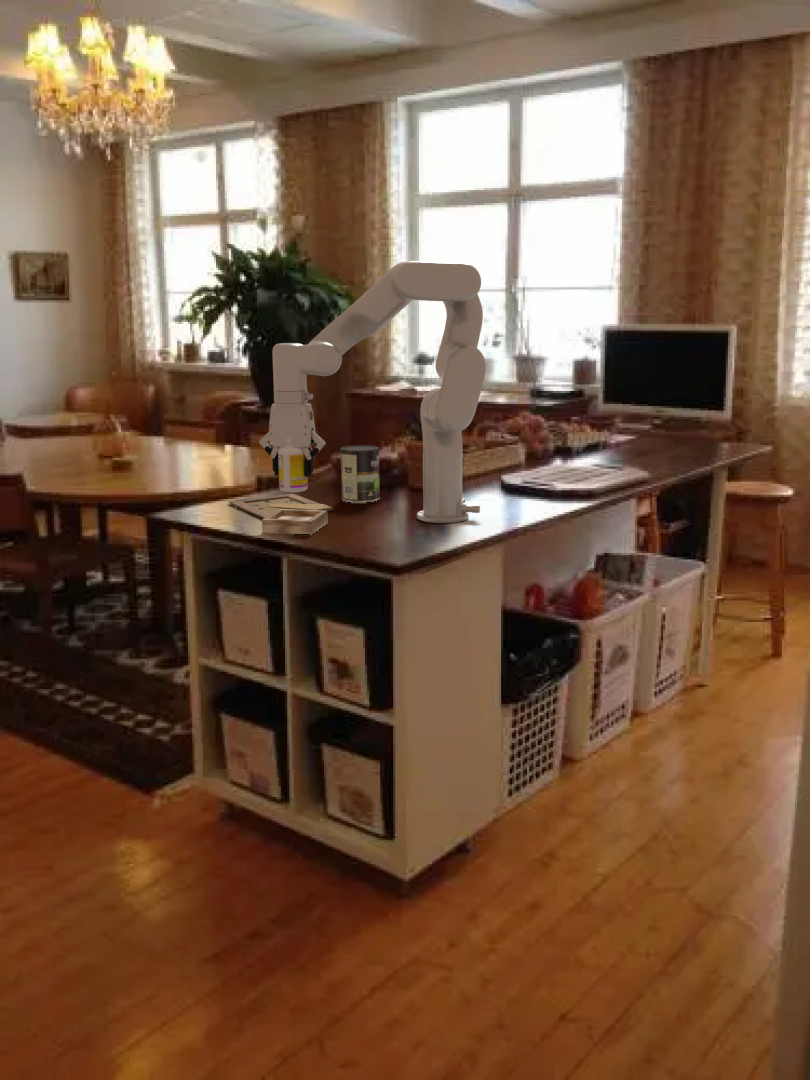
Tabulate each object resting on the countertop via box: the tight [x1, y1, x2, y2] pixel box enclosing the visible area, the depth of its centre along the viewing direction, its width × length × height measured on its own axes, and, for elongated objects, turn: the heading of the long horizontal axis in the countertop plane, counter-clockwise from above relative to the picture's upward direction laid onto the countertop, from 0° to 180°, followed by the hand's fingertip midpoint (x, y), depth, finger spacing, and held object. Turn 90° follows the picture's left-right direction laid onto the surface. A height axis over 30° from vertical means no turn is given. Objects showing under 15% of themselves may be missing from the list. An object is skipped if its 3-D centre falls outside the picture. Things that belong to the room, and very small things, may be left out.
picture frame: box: [228, 492, 333, 519], centre depth 253 cm, size 19×2×24 cm
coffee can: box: [339, 444, 381, 504], centre depth 260 cm, size 10×10×14 cm
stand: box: [261, 509, 329, 536], centre depth 230 cm, size 12×12×3 cm
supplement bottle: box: [278, 438, 309, 493], centre depth 226 cm, size 7×7×13 cm
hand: (293, 474), depth 227 cm, fingers closed on supplement bottle, 6 cm apart
